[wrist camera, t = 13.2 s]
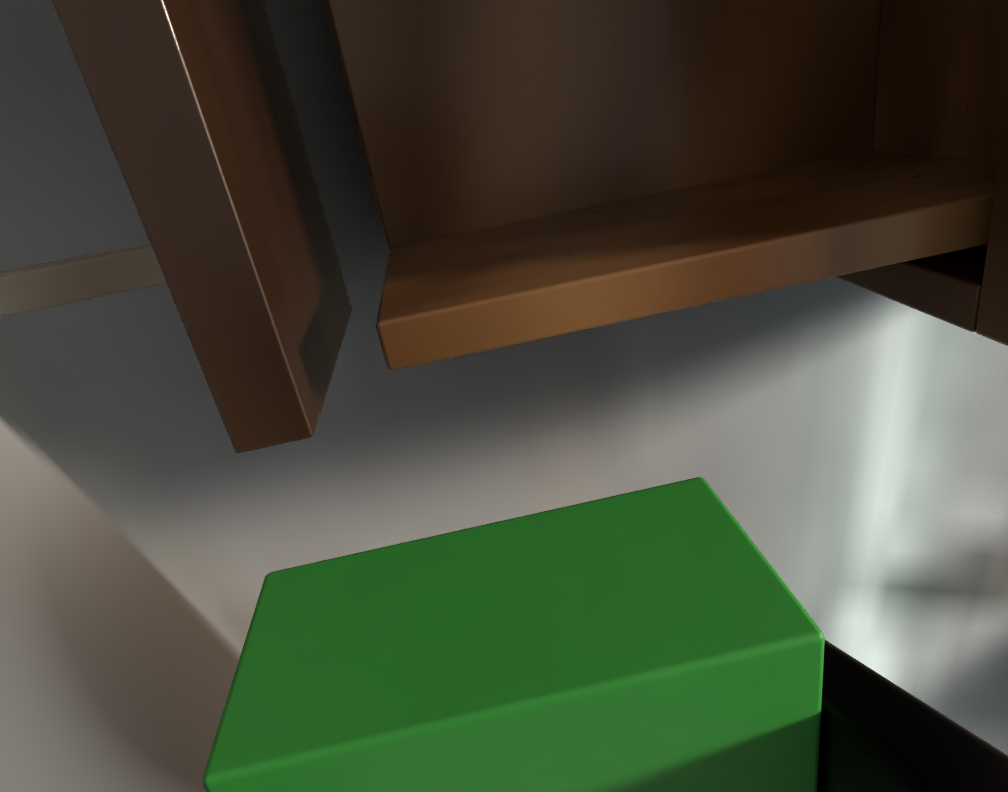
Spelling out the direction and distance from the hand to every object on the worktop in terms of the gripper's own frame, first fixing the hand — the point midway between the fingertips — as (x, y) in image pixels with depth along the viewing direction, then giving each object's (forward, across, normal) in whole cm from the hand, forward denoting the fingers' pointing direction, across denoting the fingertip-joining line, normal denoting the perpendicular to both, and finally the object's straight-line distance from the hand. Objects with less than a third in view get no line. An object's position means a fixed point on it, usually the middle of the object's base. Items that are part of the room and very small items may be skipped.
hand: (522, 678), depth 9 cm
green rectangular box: (+1, 0, 0) cm, 1 cm away
